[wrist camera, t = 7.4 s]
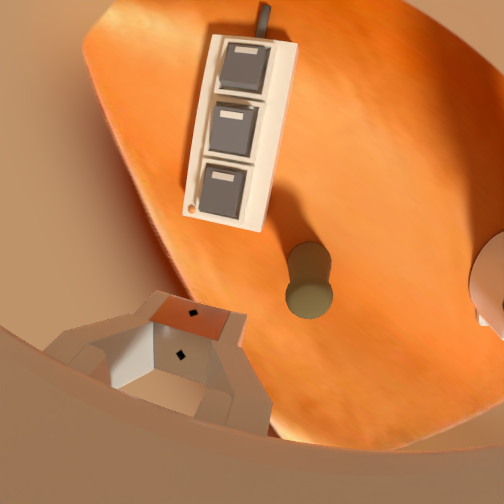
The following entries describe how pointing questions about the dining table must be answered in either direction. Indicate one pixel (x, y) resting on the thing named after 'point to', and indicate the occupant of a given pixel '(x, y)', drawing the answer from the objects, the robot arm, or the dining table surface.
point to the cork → (309, 281)
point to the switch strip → (262, 135)
